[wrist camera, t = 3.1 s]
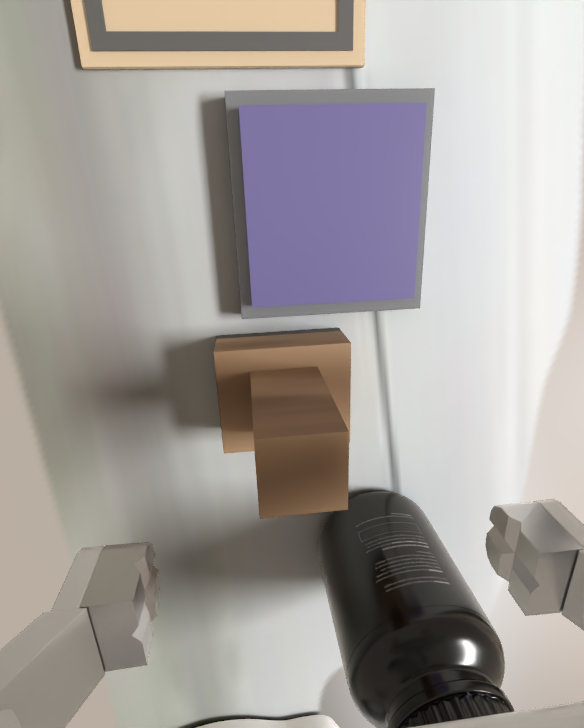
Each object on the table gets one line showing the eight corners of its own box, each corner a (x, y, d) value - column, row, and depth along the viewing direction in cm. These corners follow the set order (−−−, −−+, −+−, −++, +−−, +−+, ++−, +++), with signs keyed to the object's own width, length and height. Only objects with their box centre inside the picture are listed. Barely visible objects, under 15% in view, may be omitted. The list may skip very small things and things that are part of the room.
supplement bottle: (294, 557, 26) (334, 821, 15) (354, 469, 24) (451, 691, 13) (386, 591, 28) (484, 850, 17) (448, 511, 26) (604, 739, 15)
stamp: (338, 417, 23) (389, 528, 15) (225, 427, 23) (217, 547, 15) (338, 327, 22) (396, 398, 14) (216, 335, 21) (201, 414, 13)
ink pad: (412, 303, 21) (424, 310, 20) (241, 313, 21) (241, 321, 19) (424, 94, 18) (440, 85, 17) (225, 97, 18) (224, 87, 16)
